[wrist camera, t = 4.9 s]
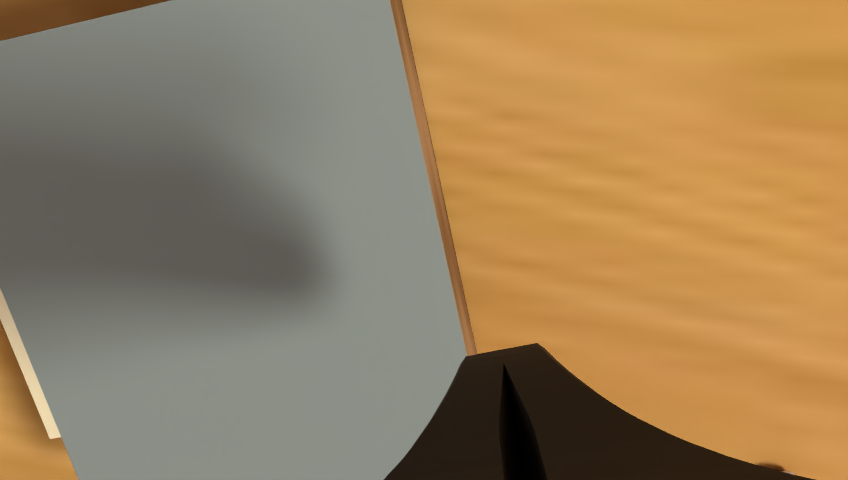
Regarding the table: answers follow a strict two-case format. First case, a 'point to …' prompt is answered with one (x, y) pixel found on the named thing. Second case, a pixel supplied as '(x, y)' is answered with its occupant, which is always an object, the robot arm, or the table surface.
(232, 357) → the lid
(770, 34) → the table surface
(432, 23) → the table surface
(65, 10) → the table surface
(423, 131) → the box
